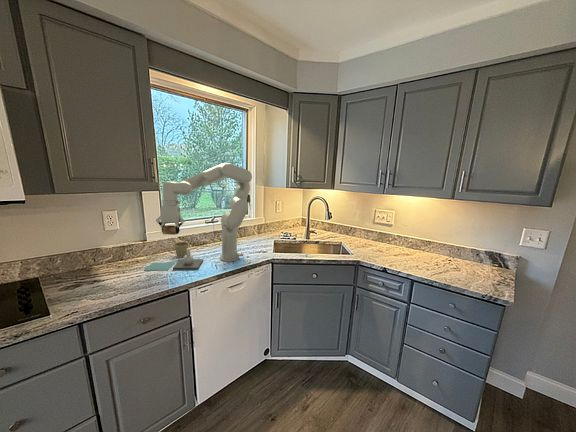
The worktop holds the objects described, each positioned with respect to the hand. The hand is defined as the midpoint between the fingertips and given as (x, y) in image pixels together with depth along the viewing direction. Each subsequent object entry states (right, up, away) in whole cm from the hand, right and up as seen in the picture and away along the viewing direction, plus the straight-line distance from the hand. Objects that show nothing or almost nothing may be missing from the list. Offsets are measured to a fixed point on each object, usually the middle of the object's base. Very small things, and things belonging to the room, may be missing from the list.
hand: (170, 233), depth 141 cm
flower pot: (-3, -17, +21) cm, 27 cm away
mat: (-7, -20, +2) cm, 21 cm away
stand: (+8, -20, +6) cm, 22 cm away
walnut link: (0, 0, 0) cm, 0 cm away
